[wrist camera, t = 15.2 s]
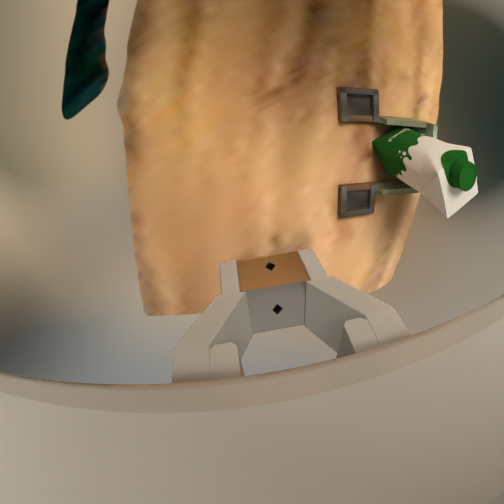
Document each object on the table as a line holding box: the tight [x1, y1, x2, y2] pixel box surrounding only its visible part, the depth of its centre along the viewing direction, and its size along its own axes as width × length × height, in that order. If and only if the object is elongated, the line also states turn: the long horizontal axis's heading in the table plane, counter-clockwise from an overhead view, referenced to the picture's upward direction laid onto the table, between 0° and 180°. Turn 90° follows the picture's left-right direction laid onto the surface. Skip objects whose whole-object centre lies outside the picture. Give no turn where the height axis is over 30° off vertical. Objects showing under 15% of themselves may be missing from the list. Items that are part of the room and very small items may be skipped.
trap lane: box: [337, 87, 437, 217], centre depth 40 cm, size 23×17×6 cm
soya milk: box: [372, 125, 478, 218], centre depth 34 cm, size 9×9×20 cm
